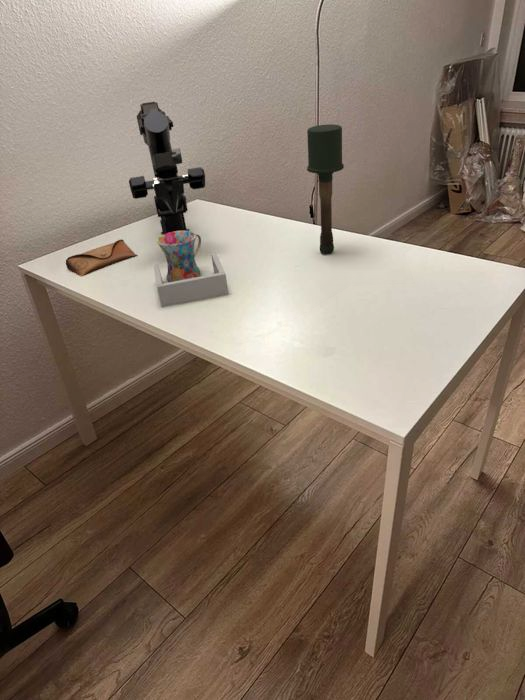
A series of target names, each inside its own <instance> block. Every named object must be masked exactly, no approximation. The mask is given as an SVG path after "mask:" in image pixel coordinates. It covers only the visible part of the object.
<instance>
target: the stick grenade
mask: <svg viewBox="0 0 525 700" xmlns="http://www.w3.org/2000/svg"><path fill="white" fill-rule="evenodd" d="M306 131H307V156H308V157H307V158H308V159H307V161H308V162H307V163H308V165H307V166H306V171H307V172H308V173H312V174H317V175H318V195H319V198H320V199H319V201H320V235H319V252H320V254H322V255H325V254H326V255H327V254H328V255H331V254H333V253H334V250H335V246H334V235H333V227H332V225H333V224H332V221H333V219H332V216H333V215H332V214H333V213H332V209H333V208H332V199H333V198H332V197H333V174H334V173H337V172H340V171H342V170H343V169H344V167H345V165H344V163H343V127H342V126H341V125H339V124H331V123H330V124H329V123H328V124H319V125H314V126H311V127H309V128H307V130H306Z"/></svg>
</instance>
